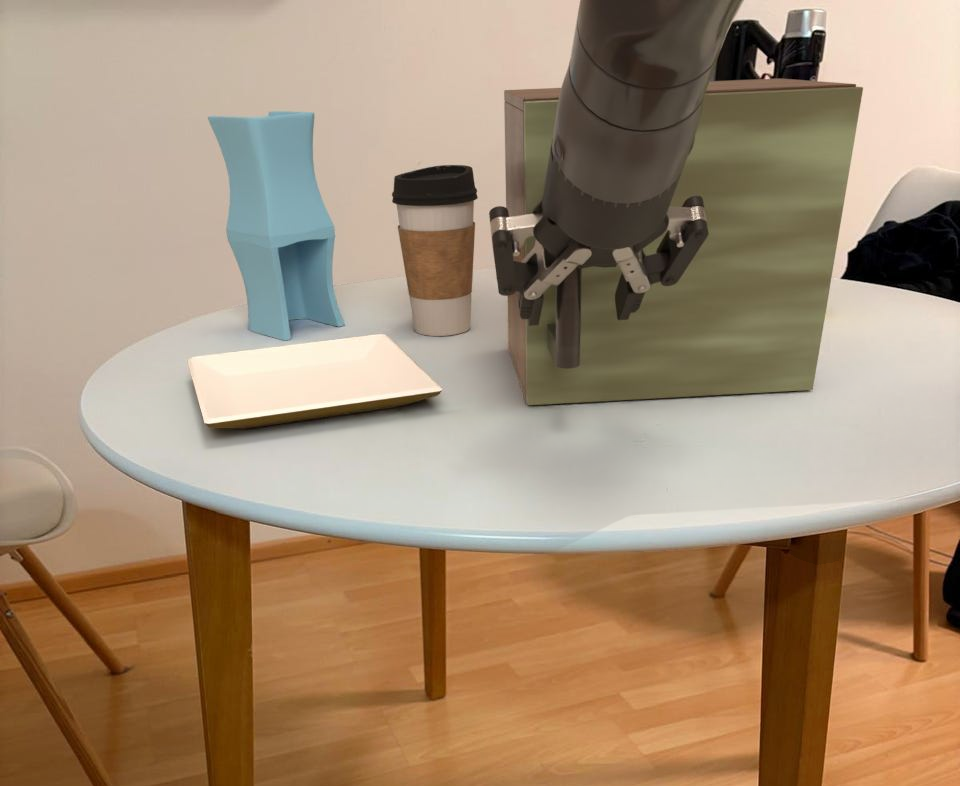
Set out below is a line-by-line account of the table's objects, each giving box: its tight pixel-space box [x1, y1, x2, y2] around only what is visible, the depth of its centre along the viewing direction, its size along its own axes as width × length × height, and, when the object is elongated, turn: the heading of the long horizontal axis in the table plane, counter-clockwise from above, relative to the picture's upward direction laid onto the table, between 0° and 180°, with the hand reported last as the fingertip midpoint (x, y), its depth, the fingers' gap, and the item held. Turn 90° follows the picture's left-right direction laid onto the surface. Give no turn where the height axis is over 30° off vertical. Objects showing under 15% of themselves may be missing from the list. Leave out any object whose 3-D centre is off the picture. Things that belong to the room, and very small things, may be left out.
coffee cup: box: [391, 164, 479, 337], centre depth 92 cm, size 8×8×15 cm
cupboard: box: [503, 78, 857, 403], centre depth 76 cm, size 16×24×22 cm
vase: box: [207, 110, 346, 342], centre depth 93 cm, size 8×8×20 cm
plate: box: [187, 333, 443, 430], centre depth 78 cm, size 19×19×2 cm
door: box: [524, 86, 864, 406], centre depth 66 cm, size 7×24×21 cm, turn 93°
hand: (576, 311), depth 66 cm, fingers open, 6 cm apart
